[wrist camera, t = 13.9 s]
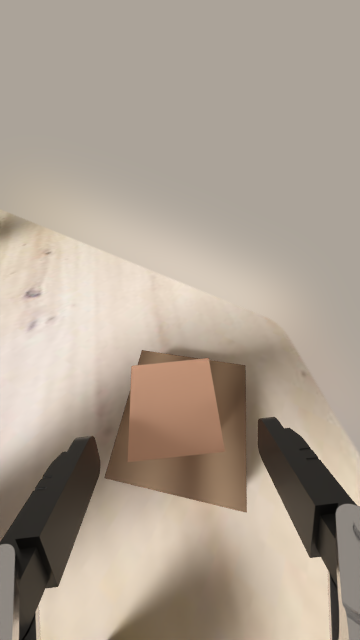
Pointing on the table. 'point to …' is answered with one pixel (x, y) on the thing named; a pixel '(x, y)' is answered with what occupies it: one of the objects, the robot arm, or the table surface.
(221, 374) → the walnut block
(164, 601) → the table surface
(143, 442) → the terracotta block
